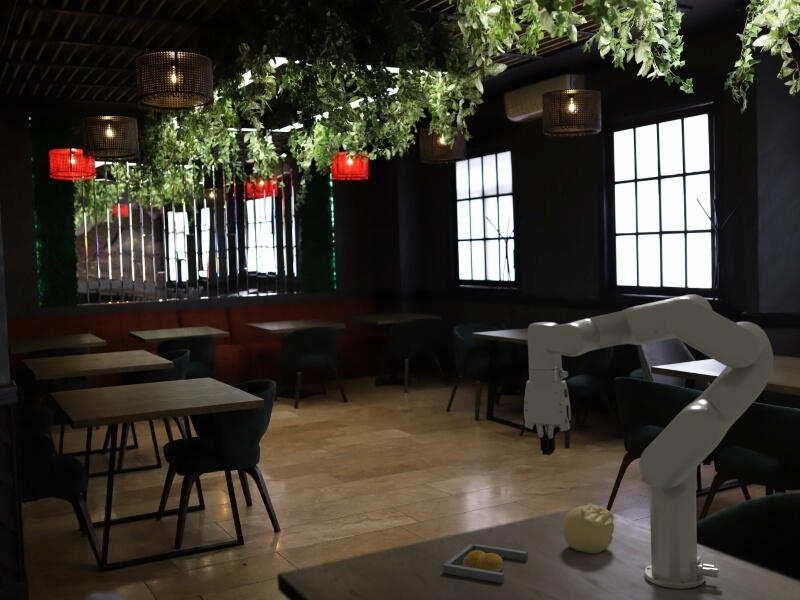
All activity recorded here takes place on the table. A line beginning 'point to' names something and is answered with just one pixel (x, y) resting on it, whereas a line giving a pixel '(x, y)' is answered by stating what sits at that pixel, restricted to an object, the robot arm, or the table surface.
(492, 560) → the bread roll
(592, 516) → the pale yellow rounded lump
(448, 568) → the bay
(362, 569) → the table surface
